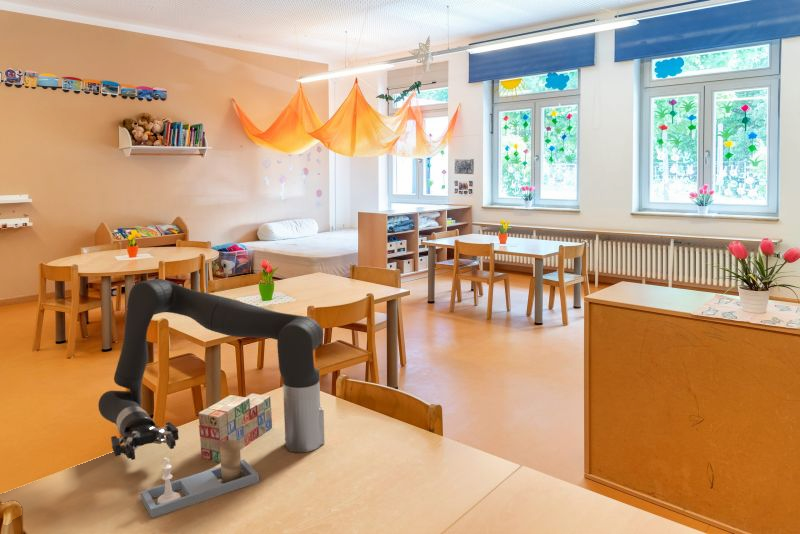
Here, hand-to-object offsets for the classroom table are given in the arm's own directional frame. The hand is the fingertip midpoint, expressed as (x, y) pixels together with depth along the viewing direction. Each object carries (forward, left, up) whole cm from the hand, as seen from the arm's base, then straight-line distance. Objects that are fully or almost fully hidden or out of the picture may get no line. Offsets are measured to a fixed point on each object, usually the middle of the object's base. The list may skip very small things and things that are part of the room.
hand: (153, 450), depth 138 cm
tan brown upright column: (-14, +11, -8) cm, 19 cm away
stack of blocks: (-23, -7, -8) cm, 25 cm away
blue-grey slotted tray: (-7, +11, -7) cm, 15 cm away
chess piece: (0, +11, -8) cm, 13 cm away
